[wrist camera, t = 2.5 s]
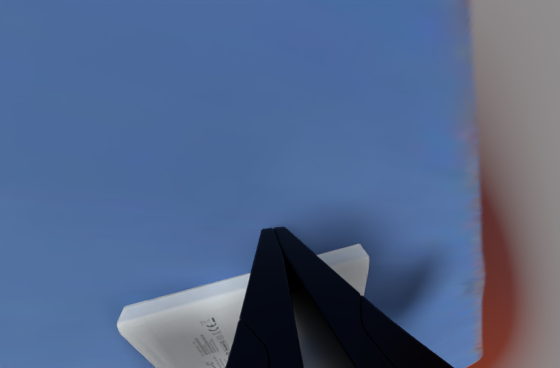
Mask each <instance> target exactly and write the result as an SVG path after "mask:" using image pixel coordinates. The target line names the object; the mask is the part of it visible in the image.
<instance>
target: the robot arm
mask: <svg viewBox="0 0 560 368" xmlns="http://www.w3.org/2000/svg"><path fill="white" fill-rule="evenodd" d="M225 368H454V367H452V366H451V365H450V364H448V363H447V362H446V361H444V360H443V359H442V358H440V357H439V356H438V355H436V354H435V353H434V352H432V351H431V350H430V349H428V348H427V347H426V346H424V345H423V344H422V343H421V342H419V341H418V340H417V339H415V338H414V337H413V336H411V335H410V334H409V333H407V332H406V331H405V330H404V329H402V328H401V327H400V326H398V325H397V324H396V323H395V322H393V321H392V320H391V319H390V318H389V317H387V316H386V315H385V314H384V313H383V312H381V311H380V310H379V309H378V308H377V307H375V306H374V305H373V304H372V303H371V302H370V301H369V300H367V299H366V298H365V297H364V296H363V295H360V293H359V292H358V291H357V290H356V289H355V288H354V287H352V286H351V285H350V284H349V283H348V282H347V281H346V280H344V279H343V278H342V277H341V276H340V275H339V274H338V273H336V272H335V271H334V270H333V269H332V268H331V267H330V266H328V265H327V264H326V263H325V262H324V261H323V260H322V259H321V258H319V257H318V256H317V255H316V254H315V253H314V252H313V251H311V250H310V249H309V248H308V247H307V246H306V245H305V244H303V243H302V242H301V241H300V240H299V239H298V238H297V237H295V236H294V235H293V234H292V233H291V232H290V231H289V230H287V229H286V228H285V227H276V228H274V229H272V228H267V229H262V230H261V234H260V238H259V242H258V246H257V250H256V254H255V257H254V261H253V265H252V269H251V273H250V277H249V281H248V285H247V289H246V293H245V297H244V301H243V305H242V309H241V313H240V317H239V321H238V324H237V328H236V332H235V336H234V340H233V343H232V347H231V350H230V354H229V357H228V361H227V364H226V367H225Z"/></svg>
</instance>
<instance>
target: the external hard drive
mask: <svg viewBox="0 0 560 368" xmlns="http://www.w3.org/2000/svg"><path fill="white" fill-rule="evenodd" d="M317 256H318V257H319V258H321V259H322V260H323V261H324V262H325V263H326V264H327V265H328V266H330V267H331V268H332V269H333V270H334V271H335V272H336V273H338V274H339V275H340V276H341V277H342V278H343V279H344V280H346V281H347V282H348V283H349V284H350V285H351V286H352V287H354V288H355V289H356V290H357V291H358V292H359V293H360V295H363V296H364V292H365V286H366V281H367V276H368V270H369V263H370V261H369V255H368V254H367V253H366V251H365V250H364V249H363V247H362V246H361V244H355V245H352V246H348V247H344V248H341V249H337V250H333V251H329V252H326V253H322V254H318V255H317ZM249 277H250V273H247V274H244V275H240V276H236V277H233V278H229V279H225V280H221V281H218V282H214V283H210V284H206V285H202V286H199V287H195V288H191V289H188V290H184V291H180V292H177V293H173V294H169V295H165V296H161V297H158V298H154V299H151V300H146V301H142V302H139V303H135V304H131V305H128V306H125V307H124V308H123V310H122V313H121V315H120V317H119V320H118V322H117V327H118V330H119V332H120V334H121V335H122V336H123V337H124V338H125V339H126V340H127V341H128V342H129V343H130V344H131V345H132V346H133V347H135V348H136V349H137V350H138V351H139V352H140V353H141V354H142V355H143V356H144V357H145V358H146V359H147V360H148V361H149V362H150V363H151V364H152V365H153V366H154V367H155V368H225V367H226V364H227V361H228V357H229V354H230V350H231V347H232V343H233V340H234V336H235V332H236V328H237V324H238V321H239V317H240V313H241V309H242V305H243V301H244V297H245V293H246V289H247V285H248V281H249Z"/></svg>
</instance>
